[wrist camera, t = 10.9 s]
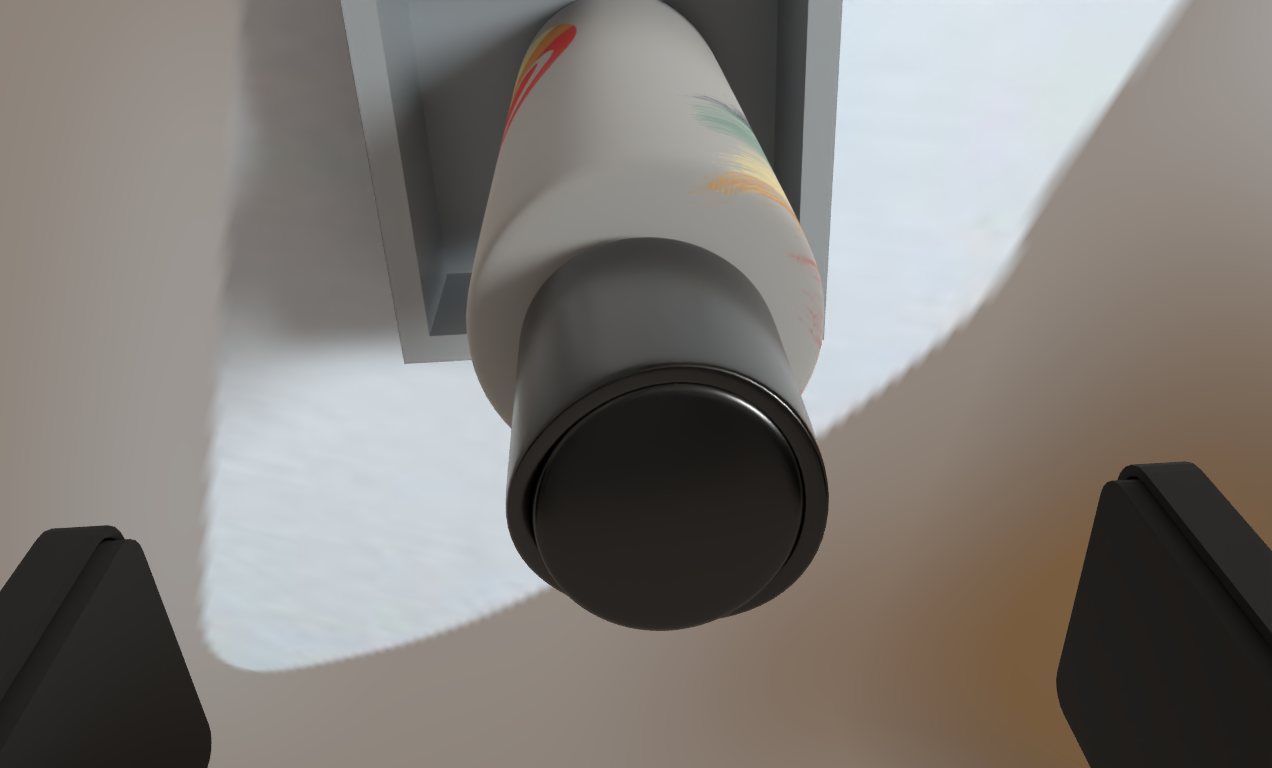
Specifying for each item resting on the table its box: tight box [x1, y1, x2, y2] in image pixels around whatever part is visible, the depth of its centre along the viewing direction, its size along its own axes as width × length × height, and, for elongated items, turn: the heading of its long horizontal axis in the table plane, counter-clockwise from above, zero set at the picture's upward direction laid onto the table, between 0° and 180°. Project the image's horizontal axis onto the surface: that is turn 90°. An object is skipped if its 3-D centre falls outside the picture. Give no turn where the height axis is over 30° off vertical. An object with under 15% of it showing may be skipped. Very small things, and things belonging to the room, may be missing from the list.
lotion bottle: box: [466, 0, 829, 631], centre depth 20 cm, size 6×6×20 cm
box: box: [340, 0, 843, 364], centre depth 28 cm, size 12×12×5 cm
